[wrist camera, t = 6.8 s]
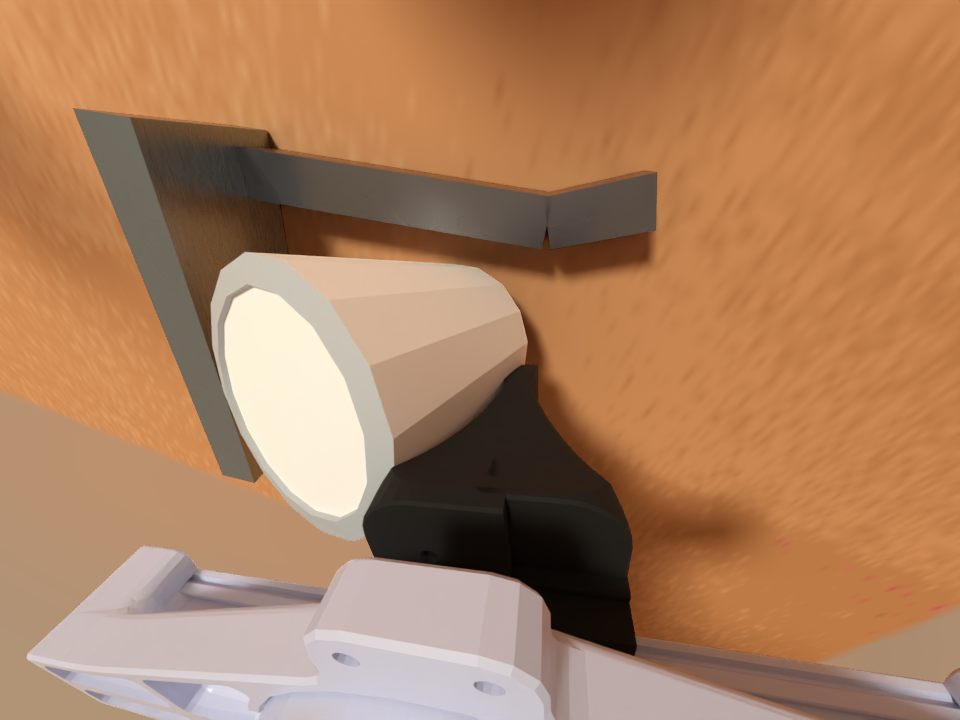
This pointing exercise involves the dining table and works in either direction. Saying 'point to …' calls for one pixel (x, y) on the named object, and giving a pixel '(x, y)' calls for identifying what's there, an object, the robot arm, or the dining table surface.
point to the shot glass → (355, 368)
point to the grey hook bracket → (305, 184)
